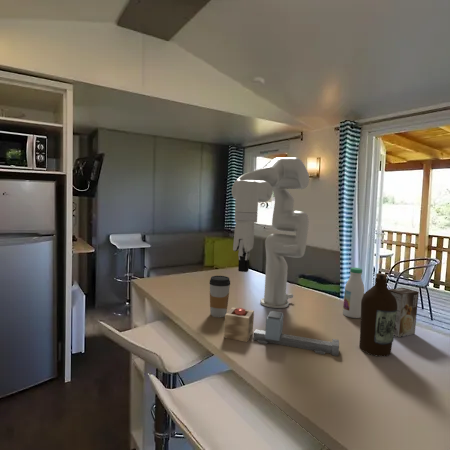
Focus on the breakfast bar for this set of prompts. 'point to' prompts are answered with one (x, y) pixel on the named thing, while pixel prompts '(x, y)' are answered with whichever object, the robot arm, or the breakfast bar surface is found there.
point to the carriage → (274, 325)
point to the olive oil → (378, 318)
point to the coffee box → (405, 311)
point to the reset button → (240, 311)
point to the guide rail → (301, 342)
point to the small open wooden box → (238, 325)
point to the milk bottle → (353, 294)
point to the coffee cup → (219, 295)
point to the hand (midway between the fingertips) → (243, 271)
